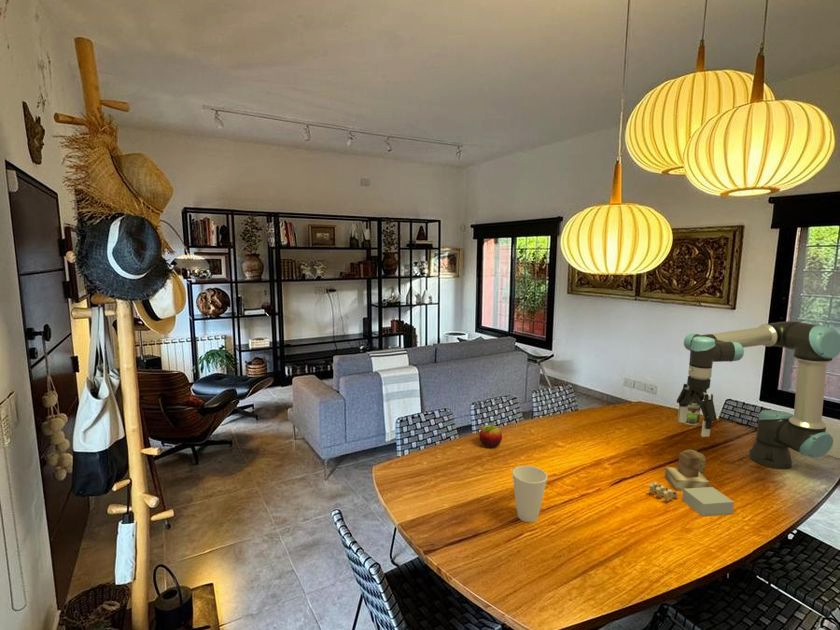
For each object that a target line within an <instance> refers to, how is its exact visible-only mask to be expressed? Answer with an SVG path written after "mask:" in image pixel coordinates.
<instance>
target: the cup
mask: <svg viewBox="0 0 840 630" xmlns="http://www.w3.org/2000/svg"><path fill="white" fill-rule="evenodd" d="M511 473H512V474H511V475H512V479H513V491H514V499H515V500H514V501H515V508H516V512H517V513H516V514H517V517H518V519H520V520H521V521H523V522H526V523H533V522H534V523H535V522H536V521H537V520H538V517H539V514H540V511H541V507H542V503H543V497H544V494H545V489H546V484H547V481H548V474H547V473H546V472H545V471H544V470H542V468H539V467H536V466H532V465H520V466H516V467H515V468H513V470H512V472H511Z"/></svg>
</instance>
